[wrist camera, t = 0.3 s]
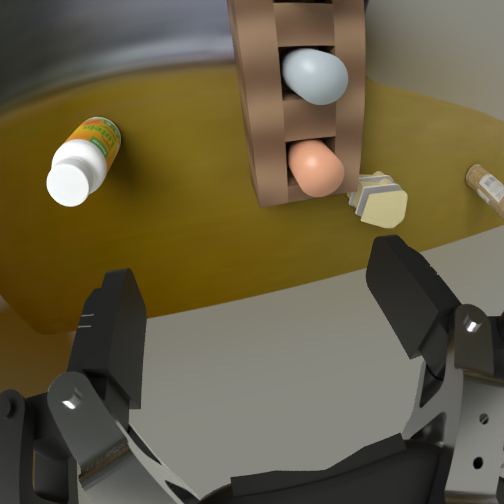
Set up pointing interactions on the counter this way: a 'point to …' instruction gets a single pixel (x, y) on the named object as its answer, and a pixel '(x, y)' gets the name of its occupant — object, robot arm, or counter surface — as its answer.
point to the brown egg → (314, 166)
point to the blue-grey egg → (314, 75)
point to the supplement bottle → (83, 161)
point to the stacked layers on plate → (379, 200)
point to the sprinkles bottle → (487, 188)
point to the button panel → (289, 102)
